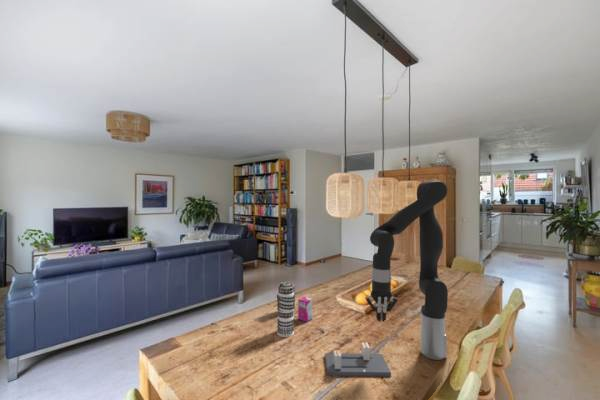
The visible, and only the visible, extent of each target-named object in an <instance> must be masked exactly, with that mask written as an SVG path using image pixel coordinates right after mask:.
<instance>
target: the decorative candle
mask: <svg viewBox="0 0 600 400" xmlns="http://www.w3.org/2000/svg"><path fill="white" fill-rule="evenodd" d="M294 285H295V284H293V283H292V282H291V281H281V282H280V284H278V285H277V287H278V288H279V291H277V294H276V299H277V301H276V302H277V303H276V305H277V306H276V307H277V312H278V314H277V319H276V320H277V324H276V325H277V326H276V331H277V335H278V336H279V337H283V338H289V337H291V336H293V335H294V334H295V316H294V308H296V302H295V303H293V302H294V301H296V295H295V296H294V291H293V290H294V288H293V287H294ZM294 298H295V299H294ZM278 304H279V305H278ZM294 305H295V307H294Z"/></svg>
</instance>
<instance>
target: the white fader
mask: <svg viewBox="0 0 600 400" xmlns="http://www.w3.org/2000/svg"><path fill="white" fill-rule="evenodd" d="M361 354H362V357H363V359H364V360H370V354H371V348H370V345H369V343H368V342H366V341H363V342H361Z"/></svg>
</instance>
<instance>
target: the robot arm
mask: <svg viewBox="0 0 600 400" xmlns="http://www.w3.org/2000/svg"><path fill="white" fill-rule="evenodd" d="M416 188H417V189H416V200H414V201H413V202H412V203H410V204H409V205H407V206H405V207H403V208H401V209H400V210H398V212H397V213H395V214H394V215H393V216H392V217H391V218H390V219H389V220H388V221H386V222H384V223H383V224H381V225H380V226H378V227H376V228H375V229H374V230H373V231H372V232H371V234H370V236H369V241H370V243H371V244H372V245H373V246H374V247H377V252H375V253H374V254H373V255H372V269H371V270H372V271H371V292H370V294H369V296H365V300H366V302H367V304H369V306H370V308H371V309H372V311H373V312H375V313H376V314H375V318H376V320H377V322H385V321H386V320H387V312H391V311H392V310H393V308H394V307H395V305H396V304H397V303H398V299H397V298H396V297H395V296H393V293H392V273H391V257H392V255H393V251H394V247H395V238H394V236H395V235H399V234H401V233H403V231H405V230H406V229H407V228H408V227H409V226H410V225H411V224H412V223H413V222H415V221H416V219H419V220H418V221H419V260H420V268H419V269H420V270H419V278H418V287H419V289H420V292H421V293H422V294H423V295H424V304H423V305H422V306H421V309H420V311H421V312H420V315H421V316H420V317H421V318H420V319H421V321H420V353H421V354H422V356H424V357H425V358H427V359H430V360H435V361H440V360H441V361H442V360H443V359H447V358H448V356H447V355H448V354H447V353H448V348H447V347H448V340H447V338H448V336H447V334H446V330H445V329H446V312H447V310H448V300H449V299H448V298H449V294H448V293H449V291H448V287H447V285H446V284H445V283H444V282H443V281H442V280H440V279H439V273H438V264H439V260H440V258H441V255H442V253H443V249H444V235H443V230H442V229H443V228H442V227H441V224H440V223H439V221H438V219H437V217H436V215H435V209H434V206H436V205H438V204H439V203H440V202H442V201H443V200H444V199H445V198H446V197H447V195H448V187H447V185H446V183H444V182H443V181H441V180H427V181H422V182H420V183H419V184H418V186H417V187H416ZM373 301H374V302H375V306H374V304H373Z"/></svg>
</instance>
